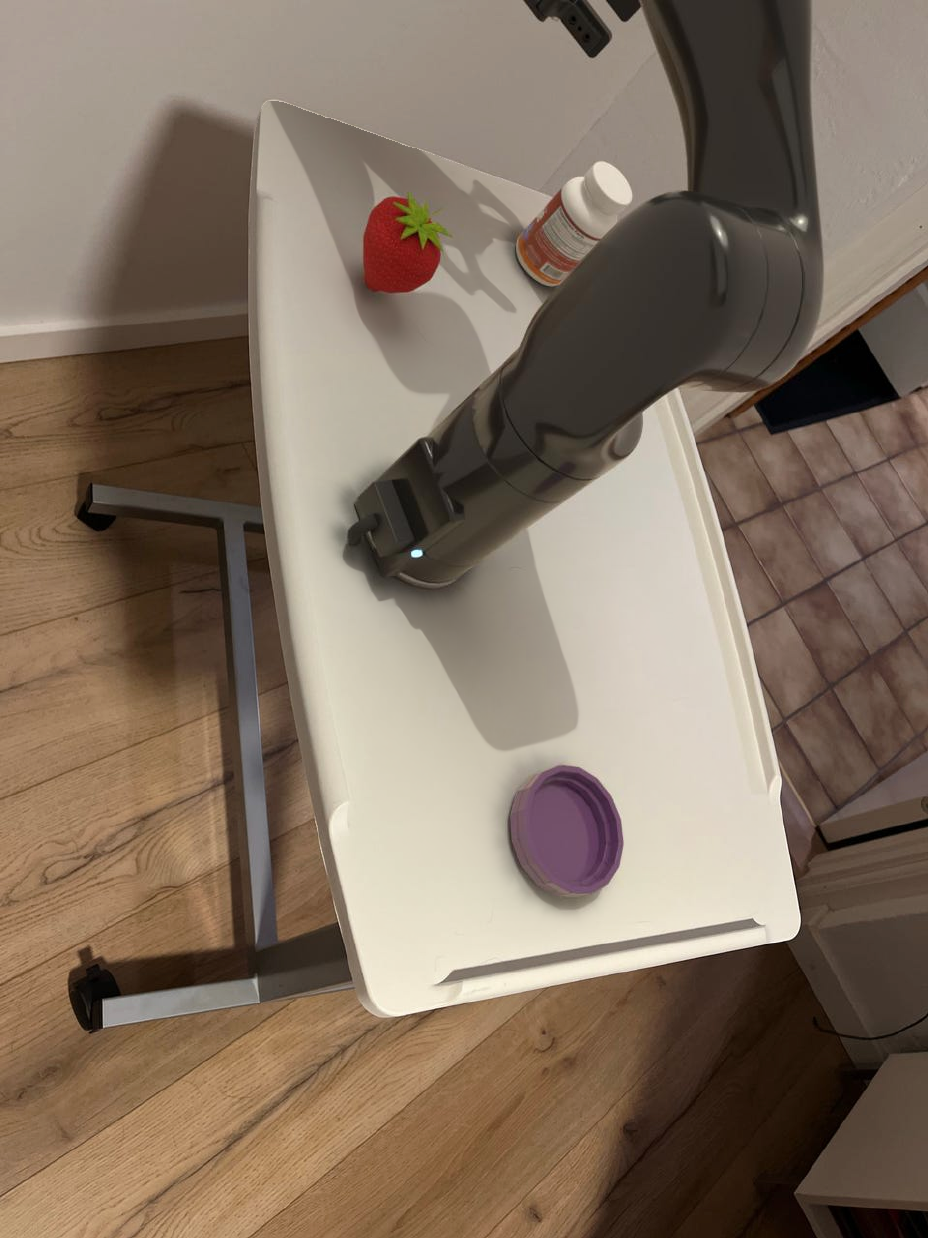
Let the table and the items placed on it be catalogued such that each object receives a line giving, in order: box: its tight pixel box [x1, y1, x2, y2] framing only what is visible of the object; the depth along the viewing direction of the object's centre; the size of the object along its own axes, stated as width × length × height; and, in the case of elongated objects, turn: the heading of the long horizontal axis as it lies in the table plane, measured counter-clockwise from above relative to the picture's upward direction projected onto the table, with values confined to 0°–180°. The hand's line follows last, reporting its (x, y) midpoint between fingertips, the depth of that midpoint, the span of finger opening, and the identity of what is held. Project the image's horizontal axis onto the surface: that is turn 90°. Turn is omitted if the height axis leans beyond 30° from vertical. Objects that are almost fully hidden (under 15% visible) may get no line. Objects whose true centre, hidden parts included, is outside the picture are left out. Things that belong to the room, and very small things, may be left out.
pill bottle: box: [515, 161, 633, 287], centre depth 85 cm, size 6×6×11 cm
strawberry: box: [362, 191, 454, 294], centre depth 71 cm, size 6×8×10 cm
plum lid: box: [509, 764, 625, 898], centre depth 65 cm, size 9×9×2 cm
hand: (619, 30), depth 72 cm, fingers open, 8 cm apart
